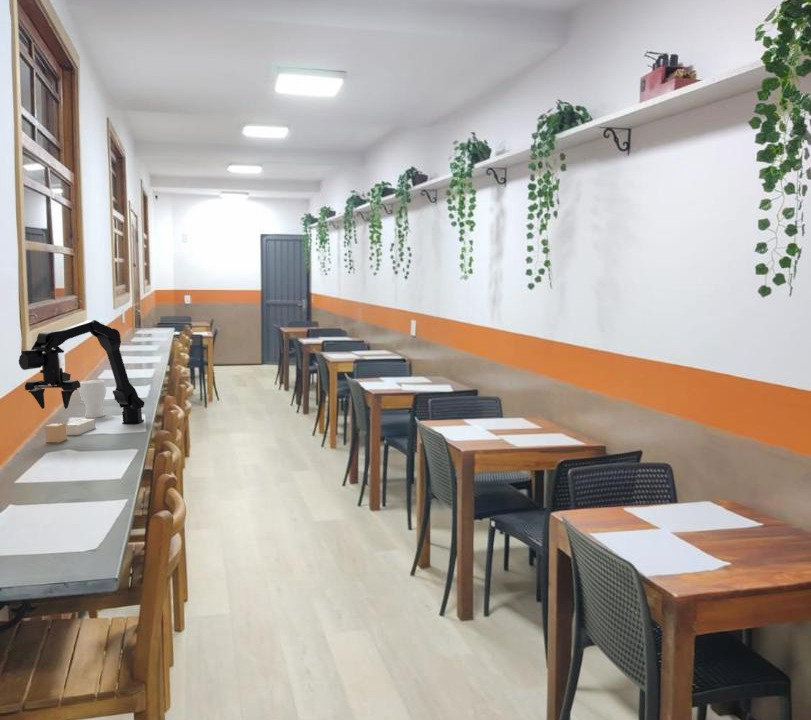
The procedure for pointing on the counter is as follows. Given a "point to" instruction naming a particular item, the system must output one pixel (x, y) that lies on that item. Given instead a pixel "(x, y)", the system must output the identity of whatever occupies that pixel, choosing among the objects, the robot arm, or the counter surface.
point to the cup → (93, 397)
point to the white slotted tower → (80, 426)
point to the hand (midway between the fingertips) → (54, 408)
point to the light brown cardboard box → (56, 432)
